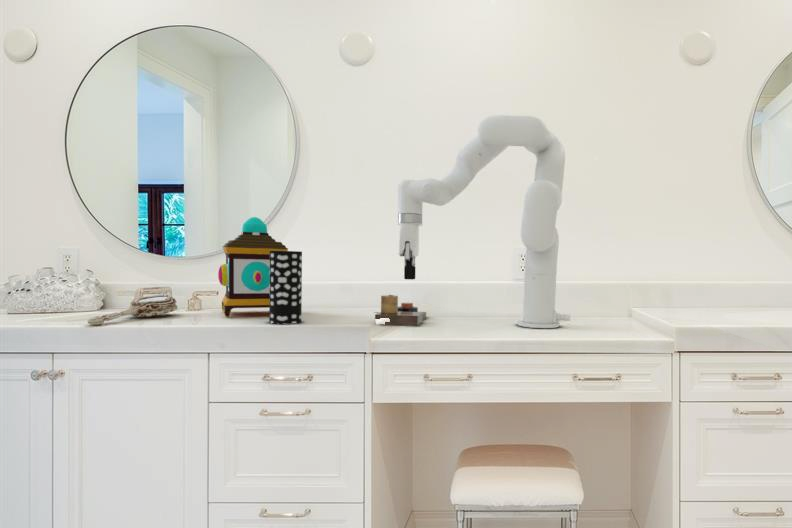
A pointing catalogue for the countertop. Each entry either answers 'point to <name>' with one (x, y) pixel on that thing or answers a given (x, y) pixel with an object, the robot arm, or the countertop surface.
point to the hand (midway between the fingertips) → (409, 279)
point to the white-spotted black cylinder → (285, 287)
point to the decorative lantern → (248, 267)
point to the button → (406, 305)
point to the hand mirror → (141, 308)
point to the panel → (402, 318)
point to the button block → (411, 310)
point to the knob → (389, 304)
